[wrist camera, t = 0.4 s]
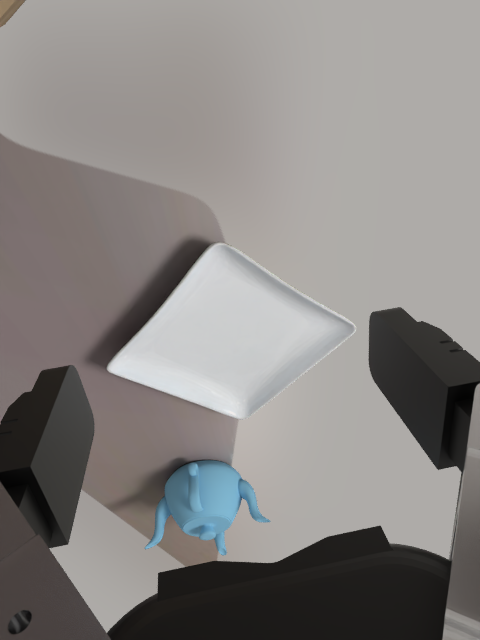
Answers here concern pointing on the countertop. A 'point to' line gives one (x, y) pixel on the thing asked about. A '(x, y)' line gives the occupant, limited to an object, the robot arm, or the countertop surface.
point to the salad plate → (230, 336)
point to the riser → (8, 9)
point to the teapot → (204, 501)
